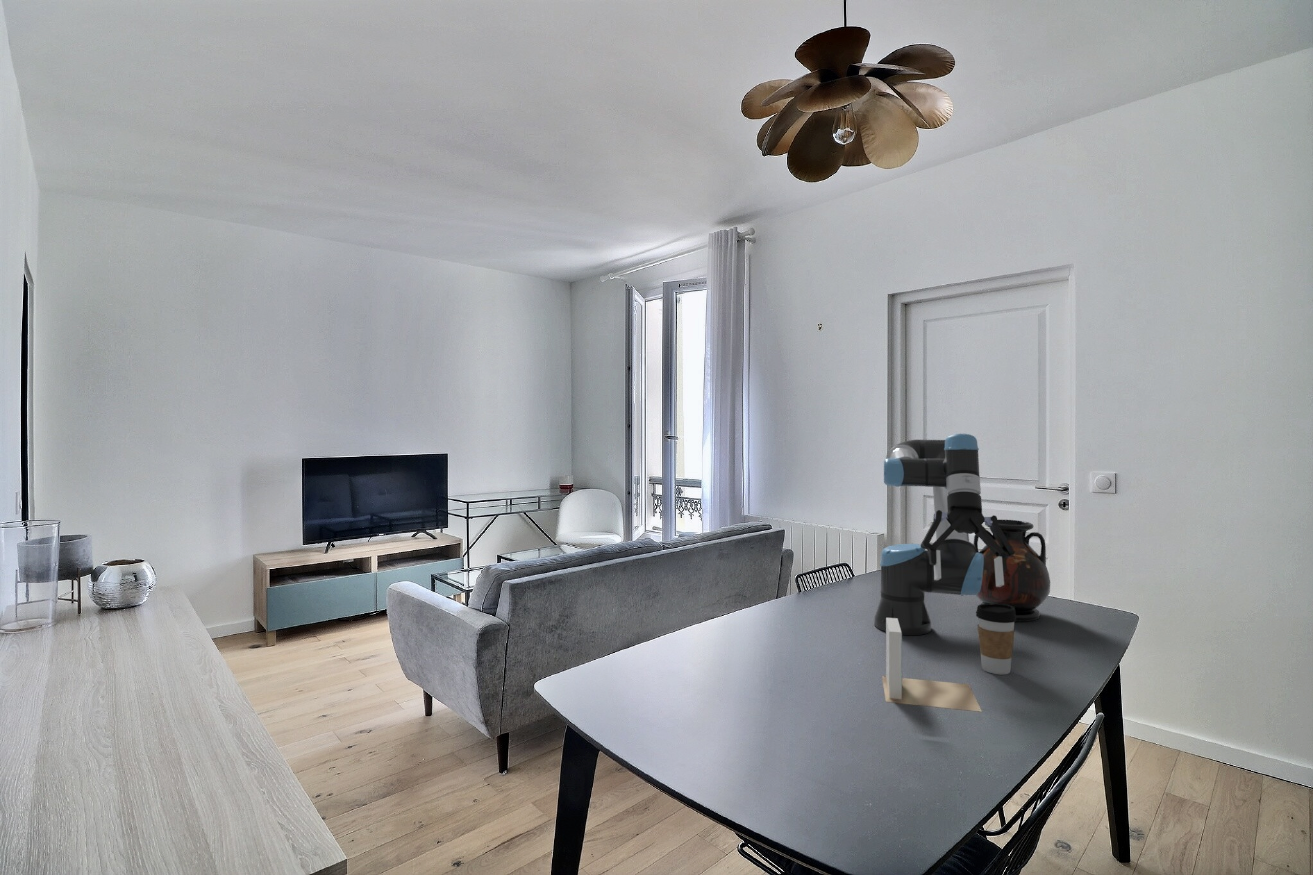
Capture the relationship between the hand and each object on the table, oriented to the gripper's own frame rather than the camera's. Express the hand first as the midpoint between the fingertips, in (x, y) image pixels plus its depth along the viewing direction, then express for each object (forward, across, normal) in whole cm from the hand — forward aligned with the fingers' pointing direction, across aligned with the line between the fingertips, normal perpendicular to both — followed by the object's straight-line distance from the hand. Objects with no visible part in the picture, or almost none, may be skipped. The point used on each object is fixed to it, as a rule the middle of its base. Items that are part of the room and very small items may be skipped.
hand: (968, 582), depth 149 cm
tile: (+26, -17, -2) cm, 31 cm away
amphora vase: (-4, +29, +54) cm, 61 cm away
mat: (+26, -10, -3) cm, 28 cm away
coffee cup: (+17, +9, +12) cm, 23 cm away
